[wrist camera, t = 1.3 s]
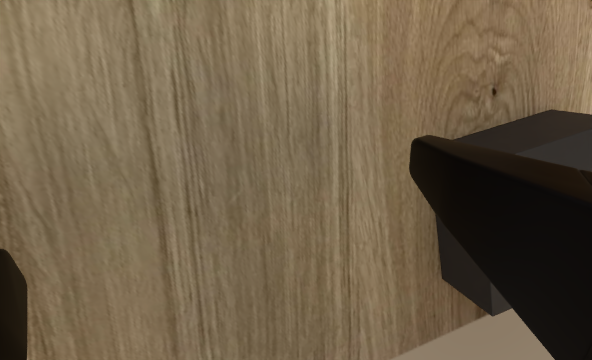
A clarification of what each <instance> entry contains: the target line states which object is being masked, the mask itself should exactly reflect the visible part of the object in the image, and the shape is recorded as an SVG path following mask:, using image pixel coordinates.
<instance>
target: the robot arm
mask: <svg viewBox="0 0 592 360" xmlns="http://www.w3.org/2000/svg"><path fill="white" fill-rule="evenodd" d="M409 170H410V174H411V177H412V178H413V180H414V181H415V183H416V184H417V186H418V188H419V189H420V191H421V192H422V194H423V195H424V197H425V198H426V200H427V201H428V203H429V204H430V206H431V207H432V209H433V210H434V212H435V213H436V215H437V216H438V218H439V219H440V221H441V222H442V223H443V225H444V226H445V227H446V228H447V230H448V231H449V232H450V233H451V235H452V236H453V237H454V238H455V239H456V241H457V242H458V243H459V244H460V246H461V247H462V248H463V249H464V250H465V252H466V253H467V254H468V255H469V256H470V258H471V259H472V260H473V261H474V262H475V264H476V265H477V266H478V267H479V268H480V270H481V271H482V272H483V273H484V275H485V276H486V277H487V278H488V279H489V281H490V282H491V283H492V284H493V285H494V287H495V288H496V289H497V290H498V291H499V293H500V294H501V295H502V296H503V297H504V299H505V300H506V301H507V302H508V304H509V305H510V306H511V307H512V308H513V309H514V311H515V312H516V313H517V314H518V316H519V317H520V318H521V319H522V320H523V321H524V323H525V324H526V325H527V326H528V328H529V329H530V330H531V331H532V333H533V334H534V335H535V336H536V337H537V338H538V340H539V341H540V342H541V343H542V345H543V346H544V347H545V348H546V349H547V351H548V352H549V353H550V354H551V356H552V357H553V358H554V359H555V360H592V172H591V171H586V170H578V169H577V168H573V167H568V166H564V165H560V164H555V163H551V162H546V161H542V160H538V159H533V158H529V157H524V156H520V155H515V154H511V153H507V152H502V151H498V150H493V149H489V148H485V147H480V146H476V145H471V144H467V143H463V142H458V141H454V140H449V139H445V138H440V137H436V136H432V135H426V136H422V137H419V138H415V139H414V140H413V141H412V143H411V152H410V164H409ZM0 360H27V283H26V280H25V278H24V276H23V274H22V273H21V271H20V270H19V268H18V266H17V265H16V263H15V262H14V260H13V258H12V257H11V255H10V254H9V253H8V252H7V251H6V250H4V249H0Z"/></svg>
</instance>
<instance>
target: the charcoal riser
mask: <svg viewBox="0 0 592 360" xmlns="http://www.w3.org/2000/svg"><path fill="white" fill-rule="evenodd" d="M454 141H458V142H463V143H467V144H471V145H476V146H480V147H485V148H489V149H493V150H498V151H502V152H507V153H511V154H515V155H520V156H524V157H529V158H533V159H538V160H542V161H546V162H551V163H555V164H560V165H564V166H568V167H573V168H577V169H578V170H586V171H591V172H592V115H590V114H582V113H574V112H566V111H558V110H549V111H546V112H542V113H539V114H536V115H533V116H529V117H526V118H523V119H520V120H517V121H513V122H510V123H507V124H504V125H500V126H497V127H494V128H491V129H487V130H484V131H481V132H478V133H474V134H471V135H468V136H465V137H462V138H458V139H455V140H454ZM436 222H437V231H438V240H439V250H440V259H441V269H442V278H443V279H444V280H445V281H446V282H447V283H449V284H450V285H451V286H453V287H454V288H455V289H457V290H458V291H459V292H461V293H462V294H463V295H465V296H466V297H467V298H469V299H470V300H471V301H473V302H474V303H475V304H476V305H478V306H479V307H480V308H482V309H483V310H484V311H486V312H487V313H488V314H490V315H491V316H495V315H498V314H500V313H502V312H504V311H507V310H509V309H511V308H512V307H511V306H510V305H509V304H508V302H507V301H506V300H505V299H504V297H503V296H502V295H501V294H500V293H499V291H498V290H497V289H496V288H495V287H494V285H493V284H492V283H491V282H490V281H489V279H488V278H487V277H486V276H485V275H484V273H483V272H482V271H481V270H480V268H479V267H478V266H477V265H476V264H475V262H474V261H473V260H472V259H471V258H470V256H469V255H468V254H467V253H466V252H465V250H464V249H463V248H462V247H461V246H460V244H459V243H458V242H457V241H456V239H455V238H454V237H453V236H452V235H451V233H450V232H449V231H448V230H447V228H446V227H445V226H444V225H443V223H442V222H441V221H440V219H439V218H438V216H437V215H436Z"/></svg>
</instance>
